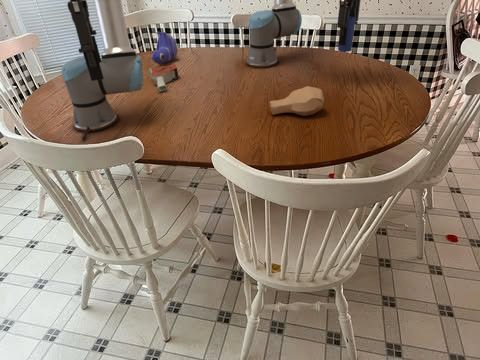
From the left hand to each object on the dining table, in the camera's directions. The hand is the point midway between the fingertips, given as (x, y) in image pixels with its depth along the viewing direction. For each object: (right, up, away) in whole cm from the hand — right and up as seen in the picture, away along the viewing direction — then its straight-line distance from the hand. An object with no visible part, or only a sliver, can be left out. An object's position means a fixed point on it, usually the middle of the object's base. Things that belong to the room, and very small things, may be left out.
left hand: (97, 70), depth 88 cm
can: (+79, +27, +59) cm, 102 cm away
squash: (+56, -2, +43) cm, 71 cm away
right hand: (+79, +29, +57) cm, 101 cm away
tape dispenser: (0, +18, +75) cm, 78 cm away
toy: (-4, +34, +98) cm, 104 cm away
